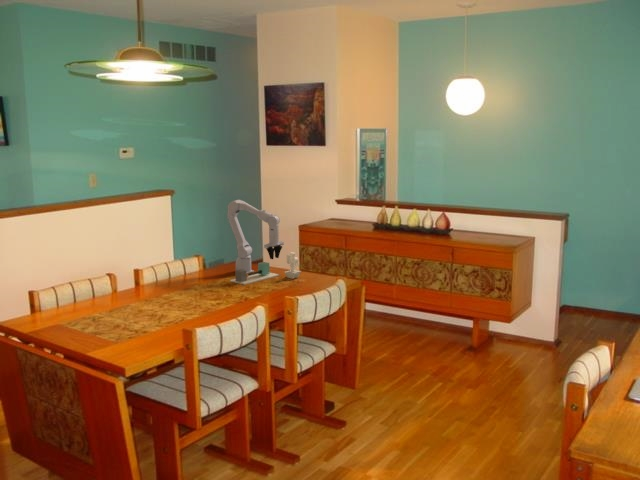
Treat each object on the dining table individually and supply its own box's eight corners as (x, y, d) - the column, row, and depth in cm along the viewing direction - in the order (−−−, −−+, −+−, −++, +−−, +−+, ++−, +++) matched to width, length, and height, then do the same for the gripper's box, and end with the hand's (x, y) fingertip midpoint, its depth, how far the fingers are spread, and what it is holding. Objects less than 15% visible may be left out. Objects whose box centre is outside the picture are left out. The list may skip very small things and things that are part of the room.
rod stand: (230, 281, 365) (229, 269, 364) (265, 272, 386) (265, 261, 385) (244, 284, 357) (244, 273, 356) (279, 275, 378) (279, 264, 377)
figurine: (302, 276, 376) (302, 251, 373) (293, 280, 368) (292, 254, 365) (292, 275, 380) (292, 250, 377) (283, 278, 372) (282, 253, 369)
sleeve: (258, 273, 376) (257, 263, 375) (264, 272, 380) (264, 261, 379) (263, 275, 373) (263, 264, 372) (269, 273, 377) (269, 263, 376)
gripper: (270, 238, 371) (270, 261, 374) (287, 235, 382) (287, 257, 385) (261, 237, 376) (262, 259, 378) (278, 233, 387) (279, 255, 389)
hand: (274, 258), depth 382 cm, fingers open, 4 cm apart
